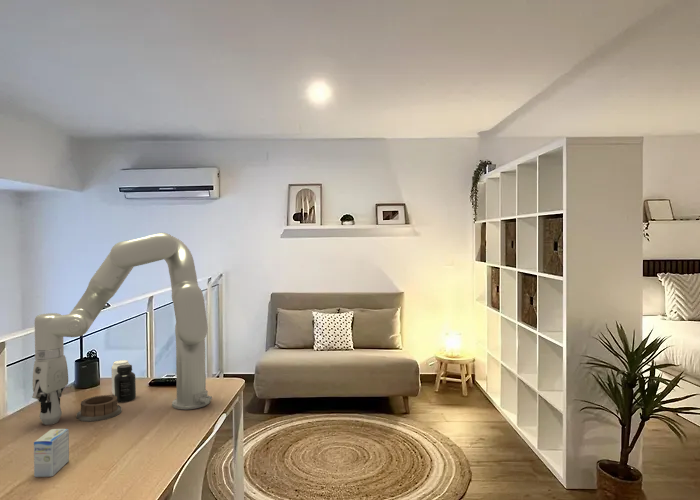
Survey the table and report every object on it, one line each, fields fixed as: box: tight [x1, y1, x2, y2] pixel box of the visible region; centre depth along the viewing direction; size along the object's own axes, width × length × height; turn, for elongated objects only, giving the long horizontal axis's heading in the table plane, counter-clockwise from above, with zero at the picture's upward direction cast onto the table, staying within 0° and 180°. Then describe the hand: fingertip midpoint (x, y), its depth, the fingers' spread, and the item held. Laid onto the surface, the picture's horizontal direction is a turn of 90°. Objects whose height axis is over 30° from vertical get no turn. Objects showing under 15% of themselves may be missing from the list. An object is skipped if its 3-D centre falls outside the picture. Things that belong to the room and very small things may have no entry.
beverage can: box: [111, 359, 131, 396], centre depth 177 cm, size 6×6×12 cm
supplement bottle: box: [114, 364, 137, 403], centre depth 171 cm, size 7×7×12 cm
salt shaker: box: [39, 391, 63, 426], centre depth 150 cm, size 6×6×13 cm
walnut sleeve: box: [76, 394, 123, 423], centre depth 157 cm, size 13×13×4 cm
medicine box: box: [33, 428, 70, 478], centre depth 119 cm, size 8×4×9 cm, turn 5°
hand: (50, 412), depth 150 cm, fingers closed on salt shaker, 3 cm apart
